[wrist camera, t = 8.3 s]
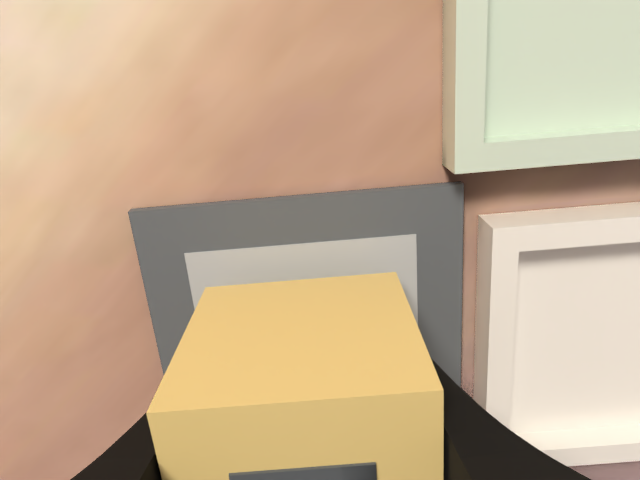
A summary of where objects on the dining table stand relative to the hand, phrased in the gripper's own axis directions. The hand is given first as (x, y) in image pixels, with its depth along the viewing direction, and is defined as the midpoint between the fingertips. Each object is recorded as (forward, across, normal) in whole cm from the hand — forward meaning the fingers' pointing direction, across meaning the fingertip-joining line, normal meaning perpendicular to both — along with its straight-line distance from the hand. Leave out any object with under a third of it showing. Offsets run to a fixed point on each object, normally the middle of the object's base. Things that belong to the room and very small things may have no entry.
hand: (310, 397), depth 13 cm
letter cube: (+2, 0, 0) cm, 2 cm away
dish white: (+3, -9, 0) cm, 9 cm away
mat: (+3, 0, 0) cm, 3 cm away
